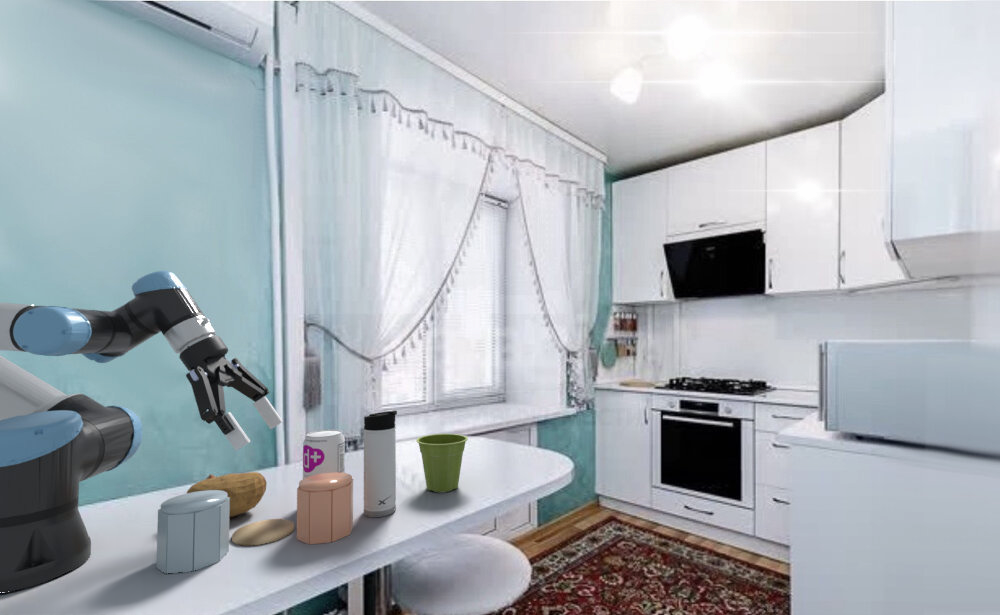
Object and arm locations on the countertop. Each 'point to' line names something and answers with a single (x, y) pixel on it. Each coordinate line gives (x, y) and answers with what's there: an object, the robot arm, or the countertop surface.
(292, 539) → the countertop surface
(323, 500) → the peach domed octagonal part
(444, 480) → the plant pot
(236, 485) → the potato
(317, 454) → the supplement can
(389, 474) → the travel mug
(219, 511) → the grey domed faceted canister
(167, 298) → the robot arm
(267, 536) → the coaster
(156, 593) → the countertop surface
